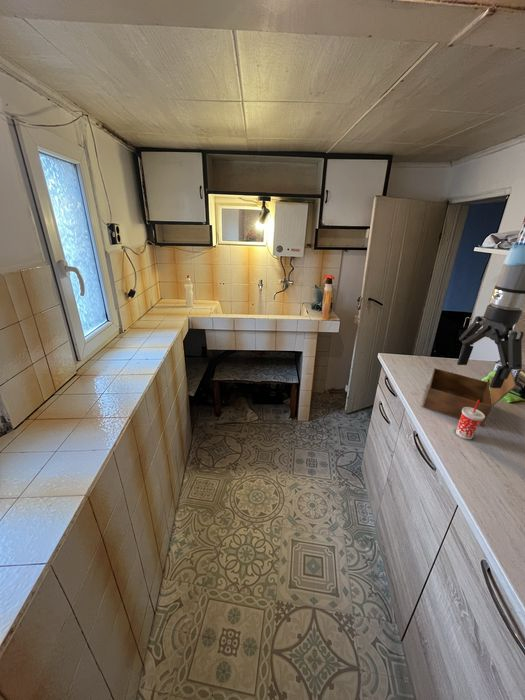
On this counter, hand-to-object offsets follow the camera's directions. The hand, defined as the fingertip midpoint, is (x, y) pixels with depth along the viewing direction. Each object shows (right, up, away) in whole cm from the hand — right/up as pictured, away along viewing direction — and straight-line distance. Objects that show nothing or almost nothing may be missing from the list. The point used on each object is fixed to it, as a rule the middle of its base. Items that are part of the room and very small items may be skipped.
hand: (477, 375), depth 84 cm
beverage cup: (+3, -21, +9) cm, 23 cm away
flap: (+20, -4, +15) cm, 25 cm away
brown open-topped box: (+10, -13, +26) cm, 31 cm away
